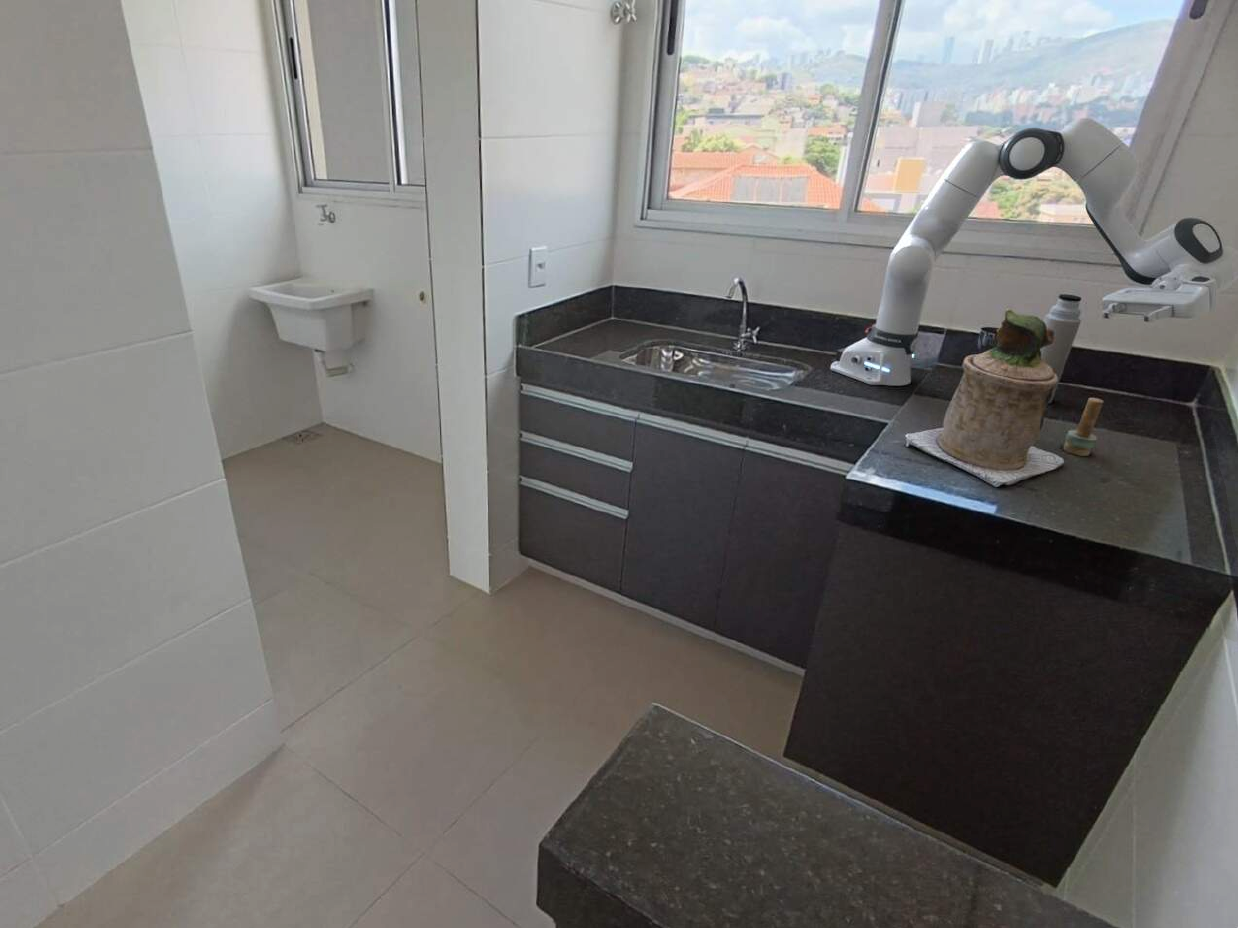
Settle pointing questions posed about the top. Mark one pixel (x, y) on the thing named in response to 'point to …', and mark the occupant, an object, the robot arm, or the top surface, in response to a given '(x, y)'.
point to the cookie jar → (999, 408)
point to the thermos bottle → (1061, 333)
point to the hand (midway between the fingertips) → (1125, 317)
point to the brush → (1084, 430)
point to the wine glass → (987, 339)
